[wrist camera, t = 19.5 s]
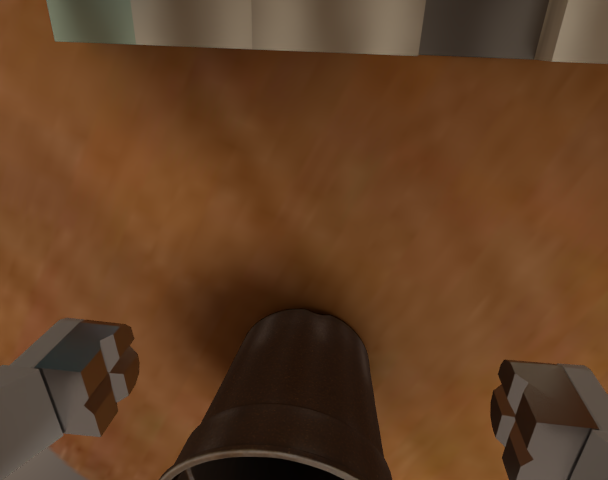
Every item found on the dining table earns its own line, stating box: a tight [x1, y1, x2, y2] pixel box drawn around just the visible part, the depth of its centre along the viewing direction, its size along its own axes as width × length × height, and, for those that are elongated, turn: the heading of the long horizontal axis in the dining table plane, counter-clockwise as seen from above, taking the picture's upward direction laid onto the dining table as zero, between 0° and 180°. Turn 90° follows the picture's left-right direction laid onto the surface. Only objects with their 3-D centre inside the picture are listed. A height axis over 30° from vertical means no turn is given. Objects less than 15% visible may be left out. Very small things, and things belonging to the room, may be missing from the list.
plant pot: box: [159, 309, 392, 480], centre depth 32 cm, size 16×16×16 cm
